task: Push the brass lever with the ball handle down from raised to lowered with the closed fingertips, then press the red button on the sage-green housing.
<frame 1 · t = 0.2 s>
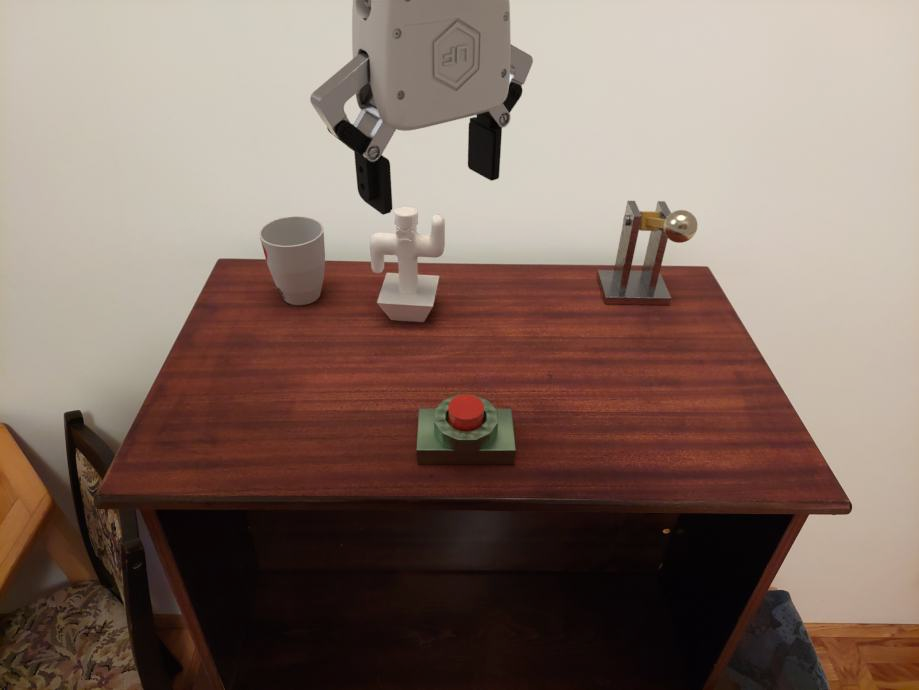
hand: (432, 189, 48), 30 cm above the table, tool pointing down, fingers open, 9 cm apart
lever: (662, 223, 78), point 14 cm above the table, hinge at 25.0°
button box: (465, 442, 68), on the table
button: (466, 412, 65), point 4 cm above the table, slide at 0.1 cm
cup: (302, 296, 90), on the table
bracket: (631, 290, 92), on the table
figurine: (410, 312, 87), on the table
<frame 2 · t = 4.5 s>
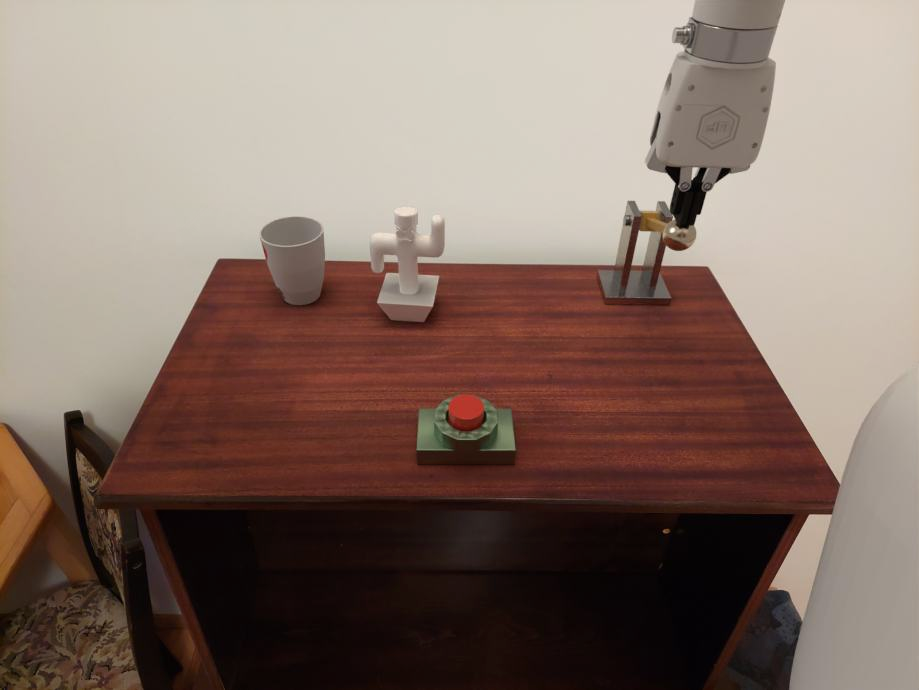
hand: (682, 219, 71), 17 cm above the table, tool pointing down, fingers closed
lever: (662, 227, 78), point 13 cm above the table, hinge at 20.9°
everything else where it was.
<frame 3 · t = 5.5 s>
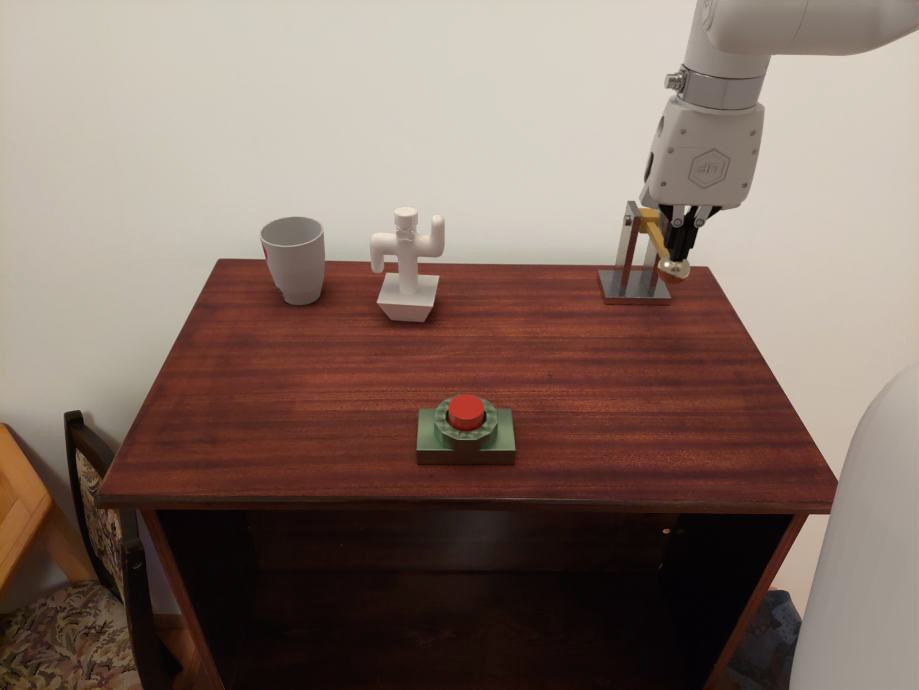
hand: (675, 252, 73), 14 cm above the table, tool pointing down, fingers closed
lever: (659, 244, 79), point 11 cm above the table, hinge at 3.0°, touching gripper
everything else where it was.
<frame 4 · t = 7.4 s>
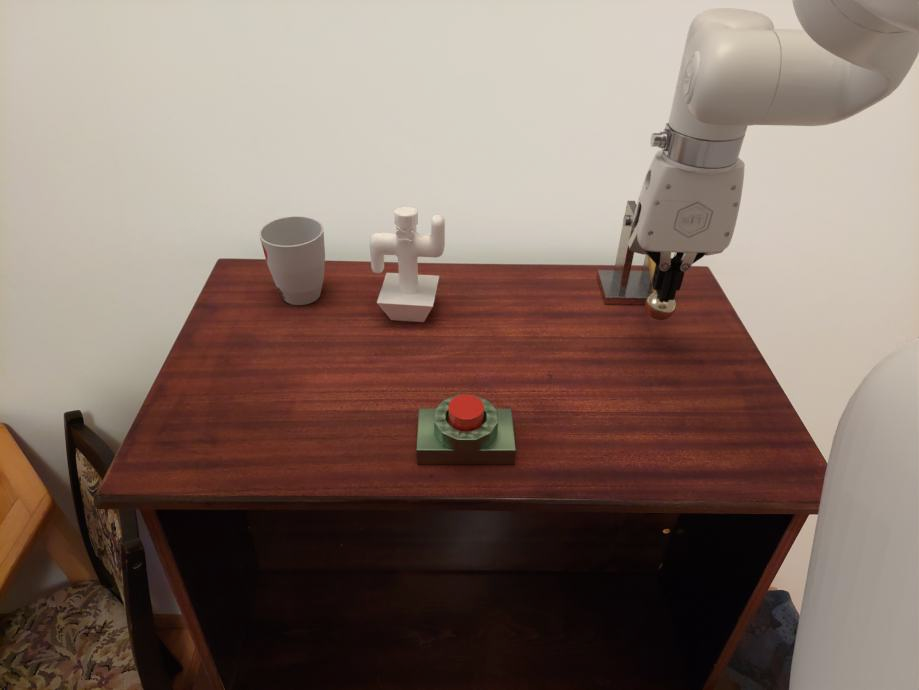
hand: (663, 293, 77), 8 cm above the table, tool pointing down, fingers closed
lever: (653, 263, 82), point 8 cm above the table, hinge at -23.7°, touching gripper
everything else where it was.
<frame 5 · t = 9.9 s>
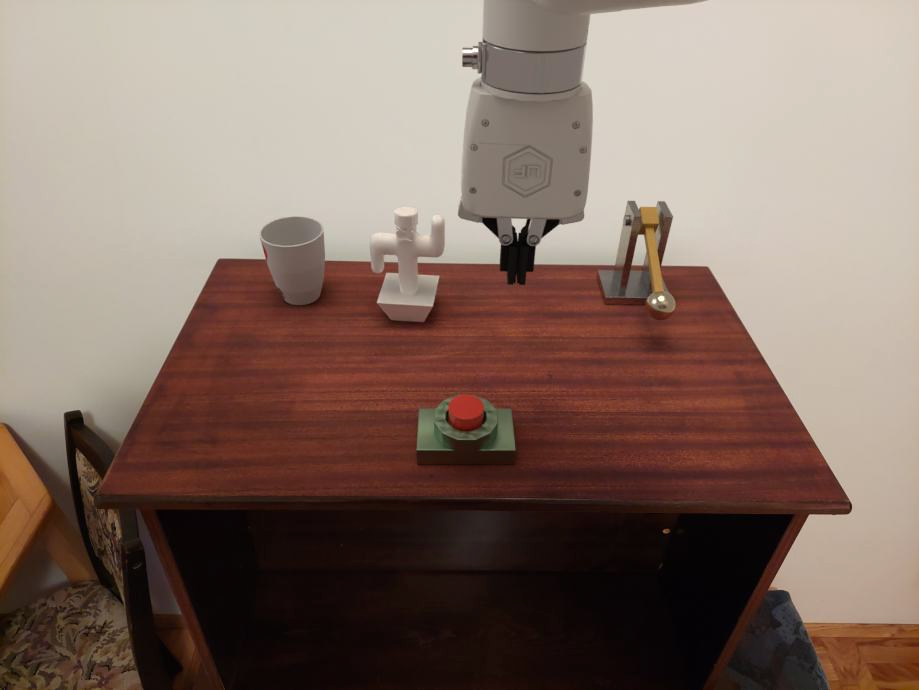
hand: (515, 276, 59), 19 cm above the table, tool pointing down, fingers closed
lever: (653, 263, 82), point 8 cm above the table, hinge at -23.7°
everything else where it was.
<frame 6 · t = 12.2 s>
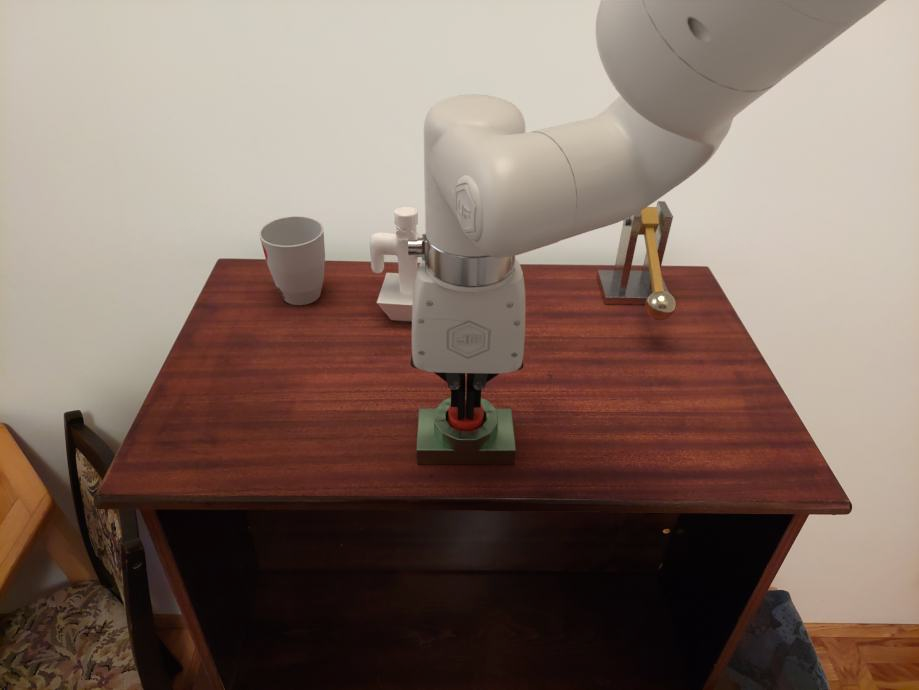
hand: (465, 409, 65), 5 cm above the table, tool pointing down, fingers closed
button: (466, 416, 66), point 4 cm above the table, slide at -0.5 cm, touching gripper
everything else where it was.
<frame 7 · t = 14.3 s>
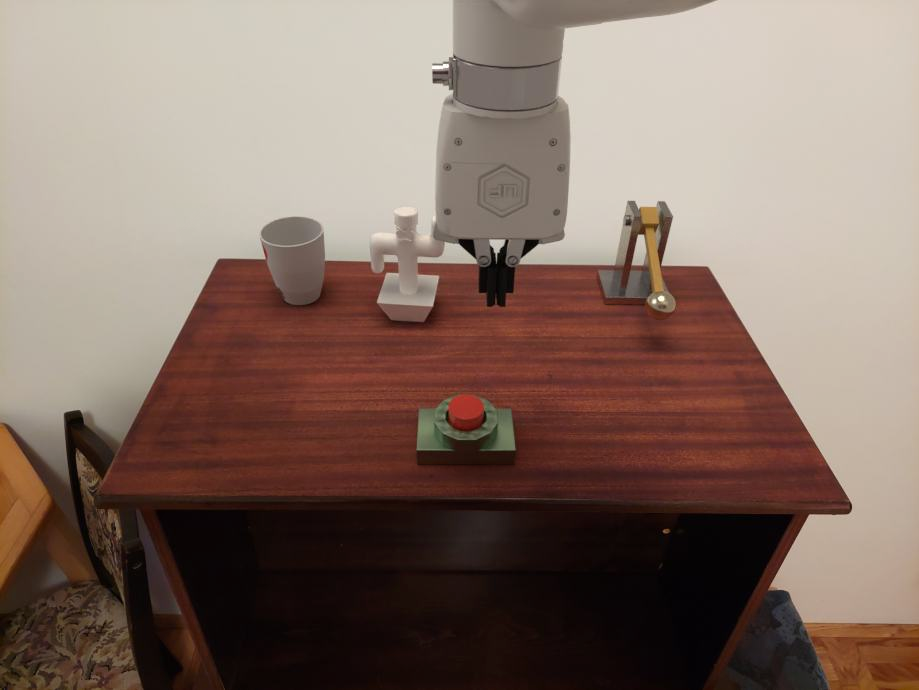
hand: (495, 297, 57), 19 cm above the table, tool pointing down, fingers closed
button: (466, 412, 65), point 4 cm above the table, slide at 0.1 cm
everything else where it was.
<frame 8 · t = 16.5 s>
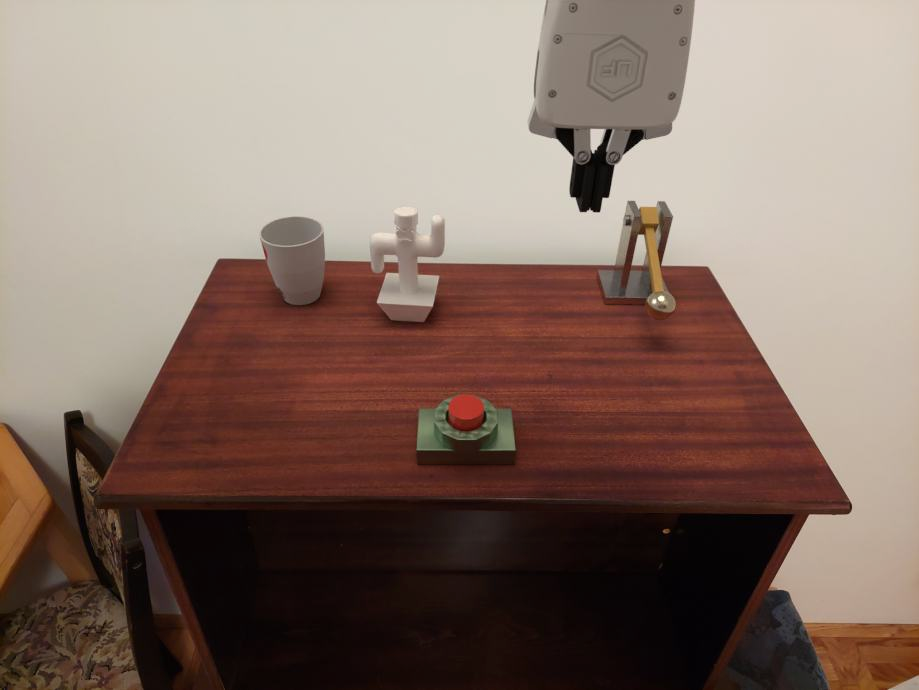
hand: (587, 204, 52), 27 cm above the table, tool pointing down, fingers closed
nothing on the table moved.
at the end: lever at -24° (first picture: +25°); button pushed in 1.1 cm at the most during the clip, back to where it started at the end; button slide at 0.1 cm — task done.
